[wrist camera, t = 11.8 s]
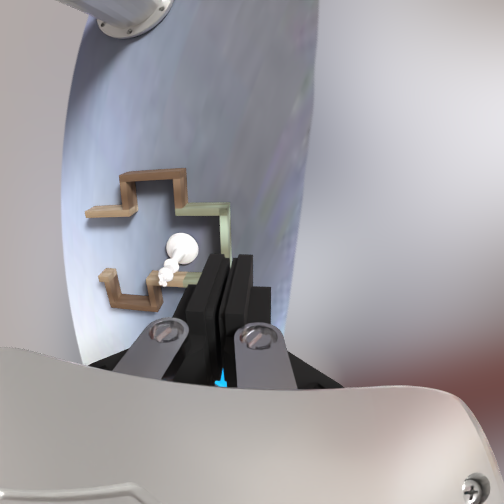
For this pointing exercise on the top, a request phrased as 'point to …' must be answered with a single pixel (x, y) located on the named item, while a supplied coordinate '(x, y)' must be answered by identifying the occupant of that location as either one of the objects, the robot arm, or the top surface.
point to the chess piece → (177, 255)
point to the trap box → (181, 209)
